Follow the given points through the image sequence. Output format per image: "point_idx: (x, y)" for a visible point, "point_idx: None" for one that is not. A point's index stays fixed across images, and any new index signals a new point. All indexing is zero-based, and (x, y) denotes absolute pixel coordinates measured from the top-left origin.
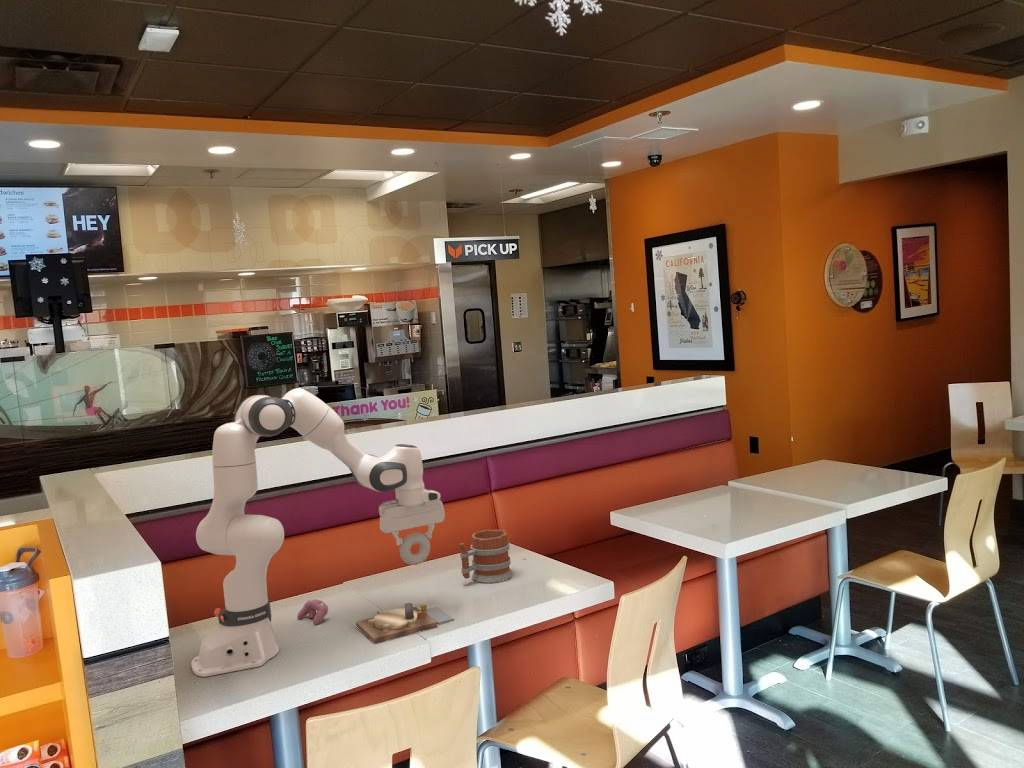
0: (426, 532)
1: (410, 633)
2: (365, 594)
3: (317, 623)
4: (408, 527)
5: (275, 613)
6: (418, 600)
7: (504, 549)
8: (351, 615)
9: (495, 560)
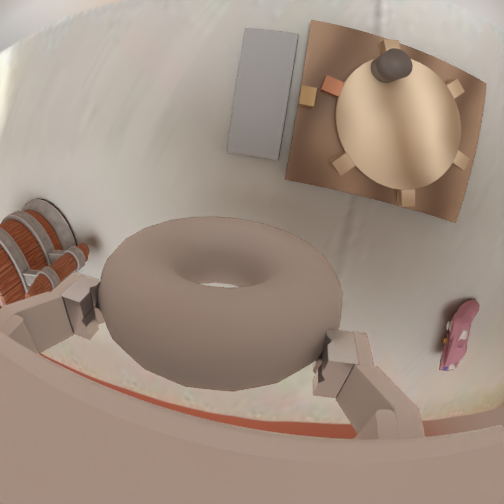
0: (78, 333)
1: None
2: None
3: (471, 300)
4: (251, 442)
5: (446, 390)
6: None
7: None
8: (405, 292)
9: (13, 226)
